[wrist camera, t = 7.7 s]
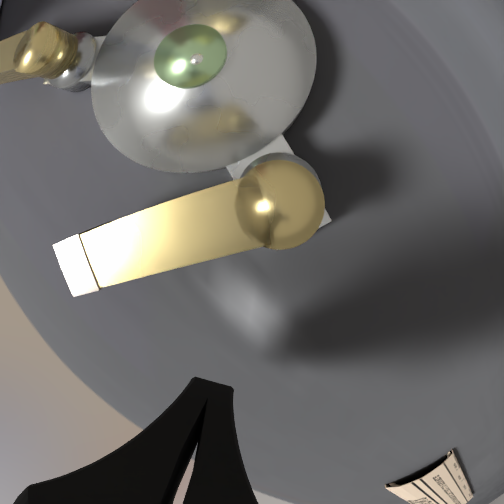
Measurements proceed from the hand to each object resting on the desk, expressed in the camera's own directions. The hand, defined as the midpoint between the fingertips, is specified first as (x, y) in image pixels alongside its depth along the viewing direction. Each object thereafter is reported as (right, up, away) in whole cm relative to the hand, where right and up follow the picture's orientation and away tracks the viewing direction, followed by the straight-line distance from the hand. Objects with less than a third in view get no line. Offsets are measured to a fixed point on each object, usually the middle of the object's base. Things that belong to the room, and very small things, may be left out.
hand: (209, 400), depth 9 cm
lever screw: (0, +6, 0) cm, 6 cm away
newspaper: (+21, -21, +8) cm, 31 cm away
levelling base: (0, +12, 0) cm, 12 cm away
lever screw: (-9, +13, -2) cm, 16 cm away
